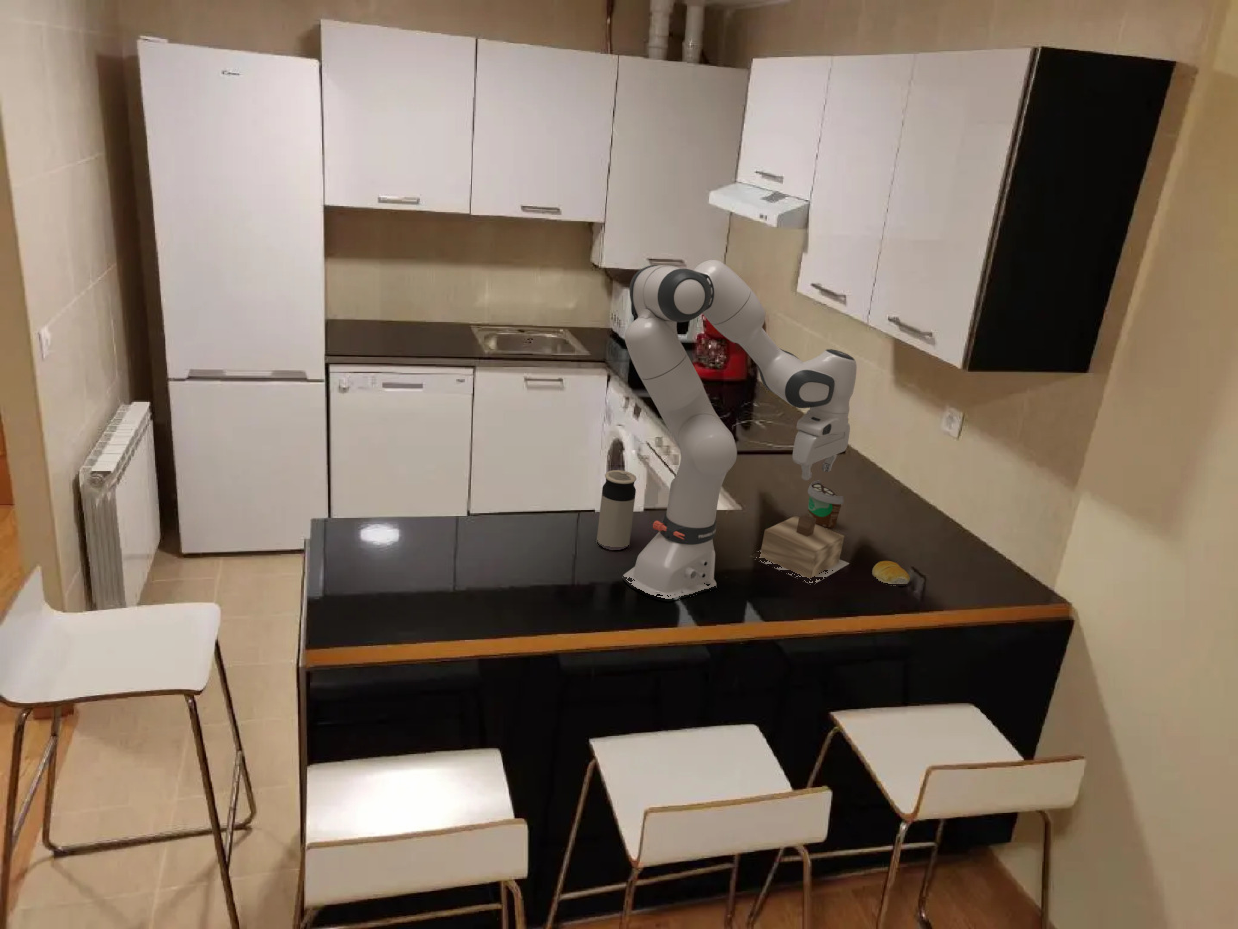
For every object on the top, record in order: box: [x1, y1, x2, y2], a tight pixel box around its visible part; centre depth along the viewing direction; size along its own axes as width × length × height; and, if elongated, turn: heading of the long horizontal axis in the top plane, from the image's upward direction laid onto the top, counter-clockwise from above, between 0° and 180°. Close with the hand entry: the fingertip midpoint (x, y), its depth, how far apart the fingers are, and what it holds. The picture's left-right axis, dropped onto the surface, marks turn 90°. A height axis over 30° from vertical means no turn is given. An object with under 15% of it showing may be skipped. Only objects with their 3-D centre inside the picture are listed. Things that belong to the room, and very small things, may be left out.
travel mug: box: [596, 469, 637, 547], centre depth 221 cm, size 8×8×18 cm
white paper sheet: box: [756, 549, 850, 584], centre depth 226 cm, size 18×18×1 cm
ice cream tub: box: [806, 479, 844, 530], centre depth 248 cm, size 12×6×10 cm, turn 21°
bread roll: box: [871, 560, 911, 585], centre depth 222 cm, size 8×9×4 cm
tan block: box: [760, 514, 845, 579], centre depth 224 cm, size 14×14×11 cm
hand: (816, 474), depth 218 cm, fingers open, 8 cm apart
